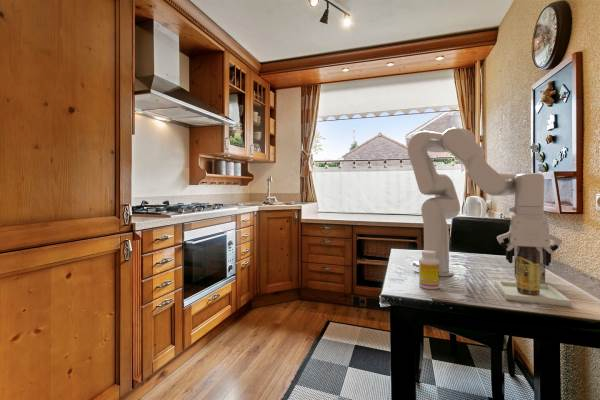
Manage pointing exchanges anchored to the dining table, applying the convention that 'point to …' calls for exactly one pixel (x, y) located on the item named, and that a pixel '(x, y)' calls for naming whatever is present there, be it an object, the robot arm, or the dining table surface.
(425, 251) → the supplement bottle
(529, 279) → the sauce bottle
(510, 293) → the tray
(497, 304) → the dining table surface
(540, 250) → the coffee box
